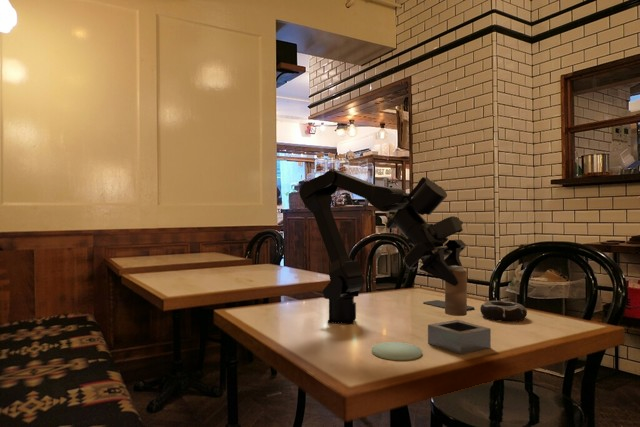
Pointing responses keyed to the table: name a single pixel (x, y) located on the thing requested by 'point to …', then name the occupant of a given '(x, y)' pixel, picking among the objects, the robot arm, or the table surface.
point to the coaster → (396, 351)
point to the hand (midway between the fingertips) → (462, 283)
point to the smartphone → (442, 304)
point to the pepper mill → (456, 293)
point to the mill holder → (459, 336)
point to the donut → (503, 311)
